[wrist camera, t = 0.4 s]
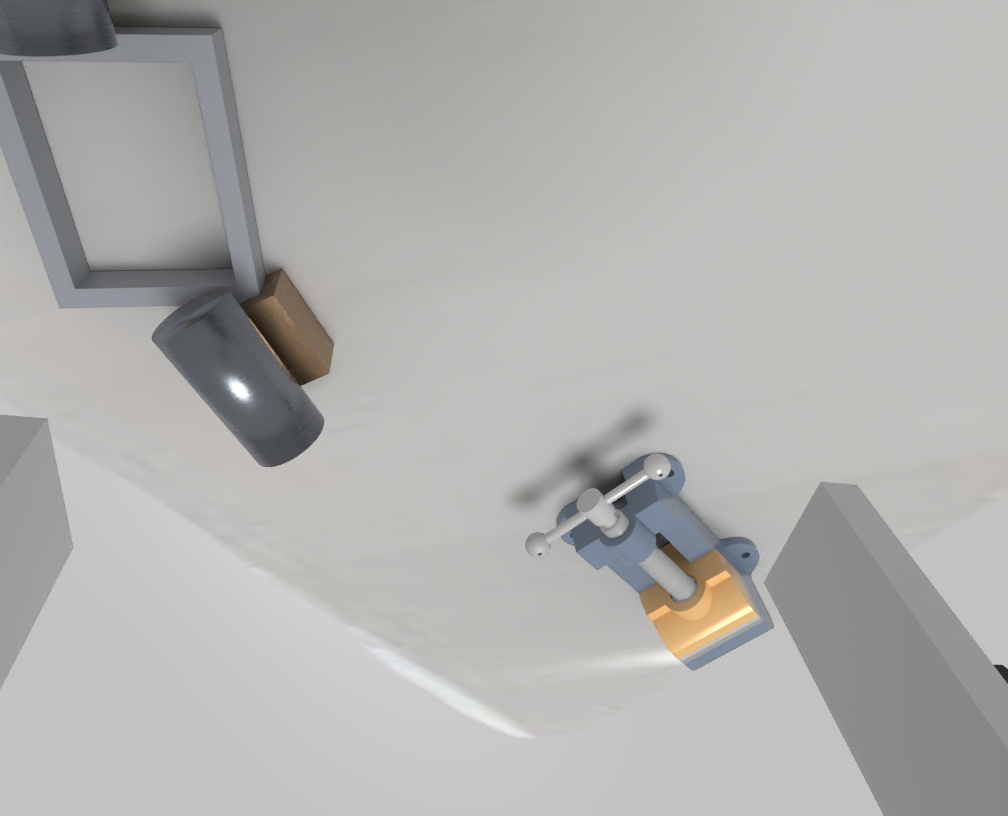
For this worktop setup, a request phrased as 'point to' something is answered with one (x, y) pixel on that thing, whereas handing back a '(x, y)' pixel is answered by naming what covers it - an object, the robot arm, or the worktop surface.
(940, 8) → the worktop surface
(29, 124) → the cradle
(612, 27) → the worktop surface
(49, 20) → the shaft
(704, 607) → the vise
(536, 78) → the worktop surface
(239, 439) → the shaft
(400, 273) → the worktop surface
